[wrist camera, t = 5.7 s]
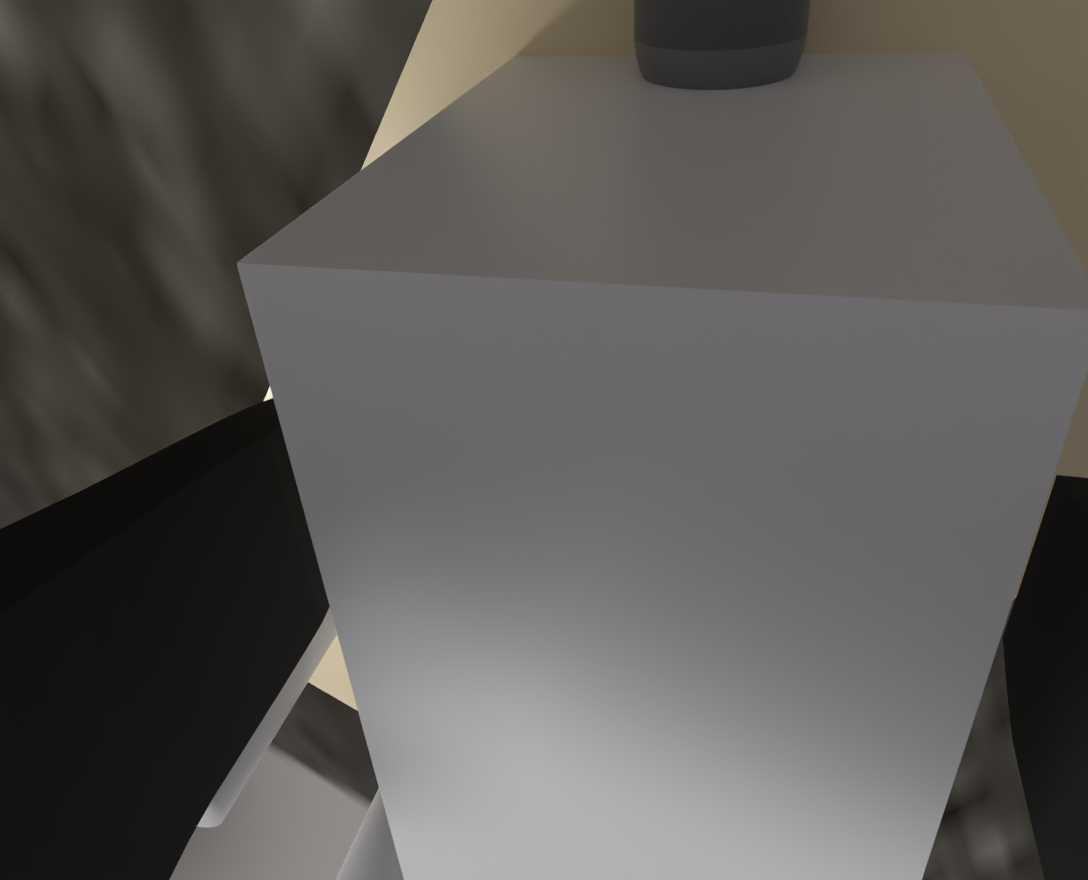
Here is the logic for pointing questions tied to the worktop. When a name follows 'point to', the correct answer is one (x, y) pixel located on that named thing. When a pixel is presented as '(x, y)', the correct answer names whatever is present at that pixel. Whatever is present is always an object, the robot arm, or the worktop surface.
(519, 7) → the board
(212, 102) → the worktop surface
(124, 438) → the worktop surface
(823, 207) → the plug housing
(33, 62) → the worktop surface
